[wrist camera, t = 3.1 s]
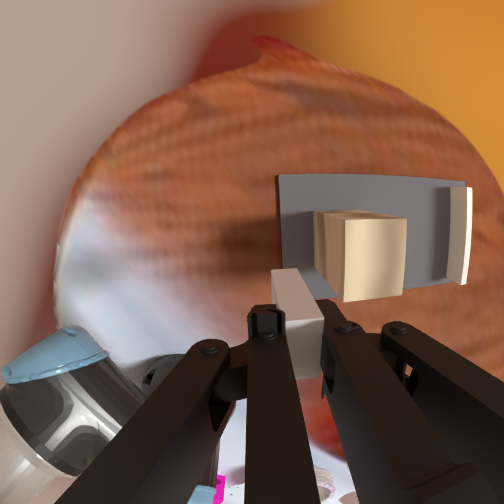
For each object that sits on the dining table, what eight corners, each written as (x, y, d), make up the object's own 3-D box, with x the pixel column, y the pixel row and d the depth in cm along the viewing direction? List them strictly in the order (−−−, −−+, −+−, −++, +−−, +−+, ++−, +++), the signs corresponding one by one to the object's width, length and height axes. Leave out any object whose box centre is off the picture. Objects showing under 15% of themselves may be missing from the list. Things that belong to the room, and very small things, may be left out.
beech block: (313, 266, 34) (343, 302, 22) (312, 210, 33) (345, 219, 21) (357, 263, 34) (401, 294, 22) (357, 209, 33) (406, 218, 21)
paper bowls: (247, 477, 45) (246, 504, 37) (293, 448, 42) (298, 478, 34) (296, 490, 47) (299, 513, 39) (342, 463, 44) (350, 488, 36)
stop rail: (445, 277, 35) (460, 284, 31) (450, 186, 32) (466, 187, 28) (450, 276, 35) (465, 283, 31) (455, 187, 32) (471, 187, 28)
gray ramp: (283, 300, 35) (283, 301, 35) (278, 175, 32) (278, 174, 32) (458, 280, 35) (459, 280, 35) (463, 181, 32) (464, 181, 31)
